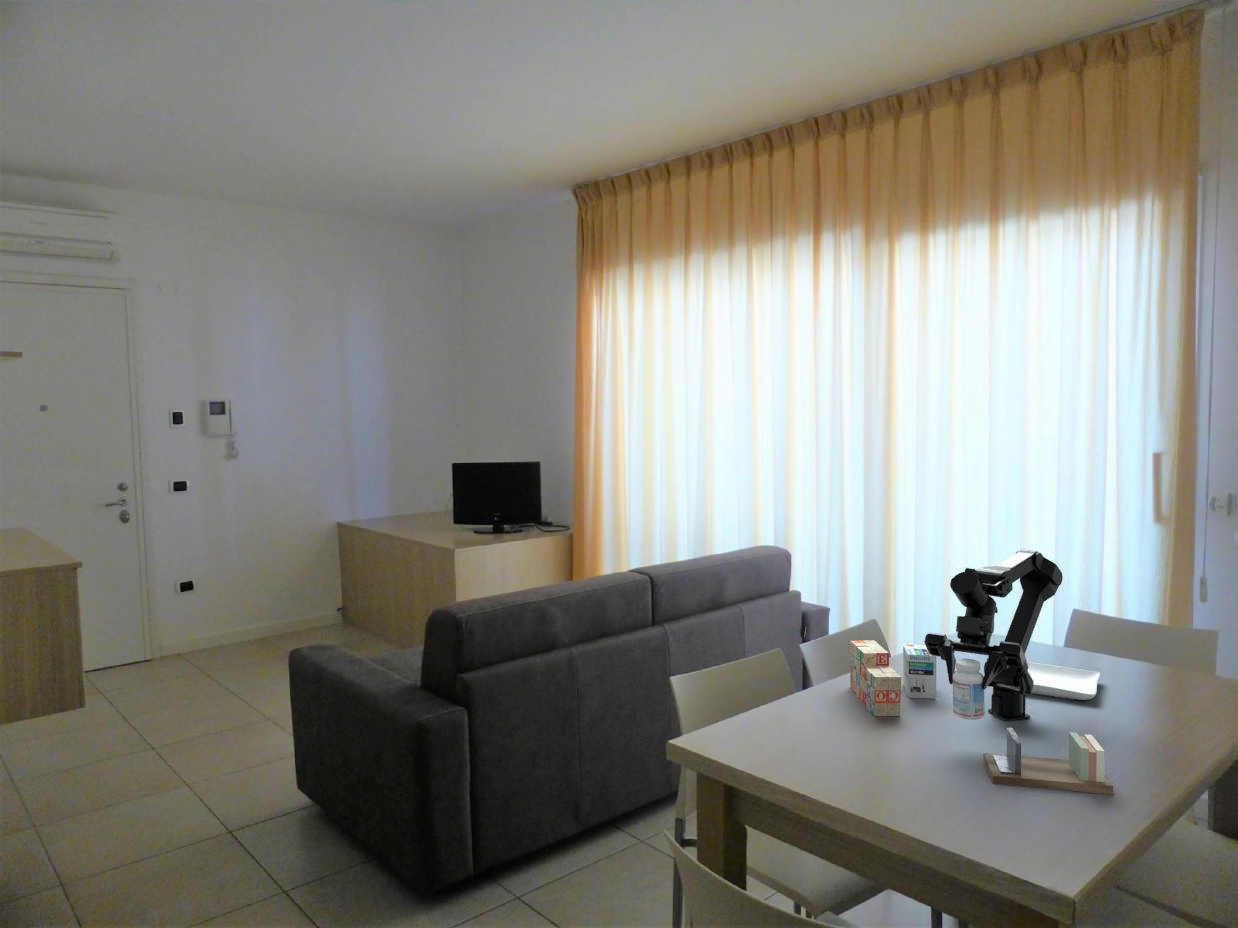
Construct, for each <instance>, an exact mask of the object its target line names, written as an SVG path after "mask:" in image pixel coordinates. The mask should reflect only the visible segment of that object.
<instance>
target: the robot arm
mask: <svg viewBox="0 0 1238 928" xmlns="http://www.w3.org/2000/svg"><path fill="white" fill-rule="evenodd" d="M1018 580H1019V583H1020V586H1021V589H1022V593H1021V596H1020V599H1019V601H1018V604H1017V606H1016V609H1015V612H1014V614H1013V618H1012V620H1011V623H1010V625H1009V628H1008V630H1007V633H1006V636H1005V638H1004V640H1003V641H1002V640H1000V642H999V645H996V644H993V645H990V644H991V638H992V635H993V634H994V631H995V617H996V614H998V613H999V609H998V607H997V602H996V601H995V599H994V598H993V597H996V598H1001V599H1002V598H1003V599H1004V598H1006V597H1007V596H1008V595H1009V594H1010V593H1011V592H1012V591H1013V583H1015V582H1016V581H1018ZM1062 583H1063V572H1062V571H1061V569H1060V568H1059V566H1058V565H1057V564H1056V563H1055V562H1053V561H1051V560H1049V559H1048V558H1046V557H1045V556H1044V555H1043V554H1042V553H1041V552H1039V551H1037V550H1031V549H1030V550H1028V549H1020V550H1017V551H1016V552H1015V553H1014V554H1013V555H1011V556H1010V557H1008V558H1007V559H1005V560H1004V561H1002V562H1000V563H999V564H997V565H994V566H982V567H978V568H977V569H975V568H972V567H966V568H965V569H964V571H961V572H959V573H957V574H955V576H953V577H952V578H951V579H950V583H949V584H950V585H949V587H950V589H951V591H952V592H953V593H954V595H955V597H956V598H957V599H958V601H959V602H960V604H961V605H962V606H963V607H965V612H964V613H965V614H964V615H963V616H962V615H957V618H956V626H955V632H956V633H957V635H956V636H957V639H959V641H955V640H951V639H950V638H948V636H947V634H946V633H940V632H933V631H929V632H928V633H927V634H926V635H925V637H924V645H926V647H927V650H928V652H929V654H930V655H932V656H936V657H940V659H941V660H942V661H945V664H946V671H947V677H948V684H949V685H953V679H952V678H953V673H954V672H955V671H956V661H957V659H956V657H955V653H956V652H960V653H967V654H975V655H980V656H981V655H983V656H988V657H987V658H986V661H985V662H984V666H983V673H984V674H983V677H984V678H983V684H982V688H983V689H984V691H985V690H986V689H987V688H990V687H991V688H992V694H991V698H990V699H991V708H989V709H987V712H988V713H990V714H993V715H994V716H996V717H998V718H1001V719H1002V720H1003V721H1016V720H1017V721H1018V720H1025V719H1026V720H1027V719H1031V715H1030V714H1027V713H1026V700H1027V698H1026V697H1027V696H1026V695H1028V694H1029V695H1030V694H1033V693H1032V689H1033V683H1034V681H1033V679H1032V678H1031V676H1030V674H1029V672H1028V664H1027V662H1028V661H1027V657H1026V652H1027V649H1028V646H1029V644H1030V641H1031V638H1032V636H1033V632H1034V631H1035V628H1036V624H1037V622H1038V619H1039V617H1040V614H1041V611H1042V608H1043V605H1044V603H1045V602H1046V601H1048V600H1049V599H1050V598H1052V597H1054V596H1055V595H1056V593H1057V591H1058V589H1059V587H1060V586H1061V585H1062Z"/></svg>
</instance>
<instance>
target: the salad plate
mask: <svg viewBox="0 0 1238 928" xmlns="http://www.w3.org/2000/svg"><path fill="white" fill-rule="evenodd" d="M1027 664H1028V672H1029V674H1030V676H1031V678H1032V679H1033V681H1034V683H1033V689H1032V693H1031V694H1034V695H1041V696H1047V697H1053V696H1054V697H1055V698H1060V697H1061V698H1062V699H1066V698H1068V699H1067V700H1074V699H1077V701H1086V700H1087V701H1088V700H1091V699H1093V698H1094V697H1096V695H1097V692H1098V682H1099V680H1100V677H1101V673H1100V672H1098V671H1095V670H1087V669H1080V668H1073V667H1068V666H1067V667H1066V666H1061V665H1053V664H1046V663H1037V662H1032V661H1031V662H1030V661H1027ZM1054 697H1053V698H1054ZM1061 698H1060V699H1061Z"/></svg>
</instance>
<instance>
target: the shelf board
mask: <svg viewBox="0 0 1238 928" xmlns="http://www.w3.org/2000/svg"><path fill="white" fill-rule="evenodd" d="M982 755H983V756H982V758H983V759H982V761H983V763H984V766H985V768H986V770H987V773H988V775H989V777H990V779H991V781H992V784H993V785H1005V786H1016V787H1026V788H1039V789H1049V788H1050V790H1059V791H1069V790H1070V791H1071V790H1073V791H1071V792H1081V793H1091V792H1092V794H1093V793H1094V794H1102V793H1103V795H1104V794H1105V795H1114V785H1113V783H1111V781H1110V780H1109V778H1108V777H1107V776H1106V775H1105V774H1104V782H1096V781H1084V780H1080V779H1079V777H1078V776H1077V775H1076V773H1075V772H1074V770H1073V769H1072V767H1071V766H1070V764H1069V759H1063V758H1061V759H1060V758H1049V757H1036V756H1026V755H1025V756H1024V755H1023V756H1022V755H1021V775H1016V774H1005V773H1000V771H999V769H998V767H997V764H996V762H995V760H994V758H993V755H998V756H1007V754H1000V753H988V752H983V753H982ZM1070 791H1069V792H1070Z"/></svg>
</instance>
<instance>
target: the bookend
mask: <svg viewBox="0 0 1238 928" xmlns="http://www.w3.org/2000/svg"><path fill="white" fill-rule="evenodd" d="M1006 755H1007V756H998V755H993V758H994V760H995V762H996V764H997V767H998V769H999V771H1000V773H1005V774H1016V775H1021V756H1022V741H1021V740H1020V738H1019V737H1018V735H1017V733H1016V731H1015V730H1014V728H1013V727H1007V728H1006Z"/></svg>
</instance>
